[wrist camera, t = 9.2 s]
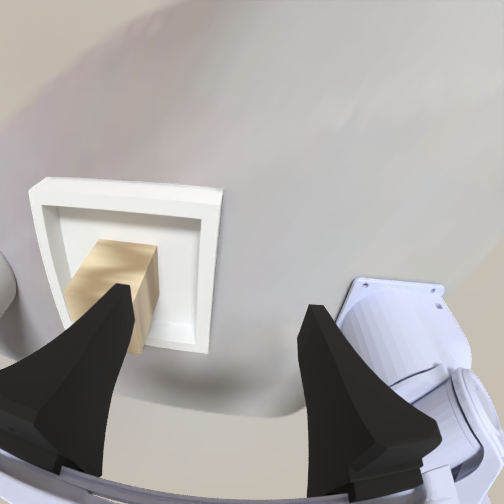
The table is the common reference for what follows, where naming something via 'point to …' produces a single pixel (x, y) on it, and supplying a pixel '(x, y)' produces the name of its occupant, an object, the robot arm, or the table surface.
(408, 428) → the robot arm
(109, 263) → the bore block
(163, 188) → the tray
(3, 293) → the mug
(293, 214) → the table surface
